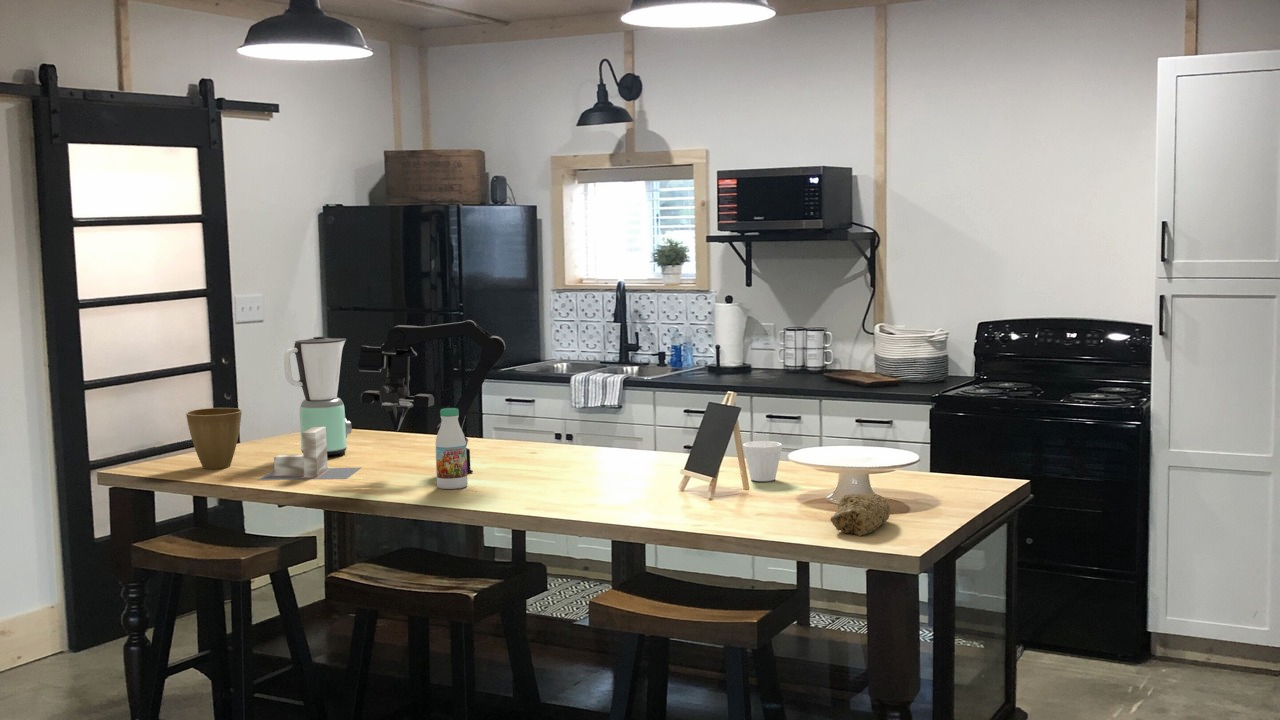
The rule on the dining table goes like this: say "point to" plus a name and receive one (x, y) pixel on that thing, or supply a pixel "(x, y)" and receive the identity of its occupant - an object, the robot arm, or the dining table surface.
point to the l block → (306, 456)
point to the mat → (329, 474)
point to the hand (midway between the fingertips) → (396, 430)
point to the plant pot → (214, 435)
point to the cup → (762, 459)
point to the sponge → (861, 513)
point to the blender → (320, 389)
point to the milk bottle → (451, 452)
